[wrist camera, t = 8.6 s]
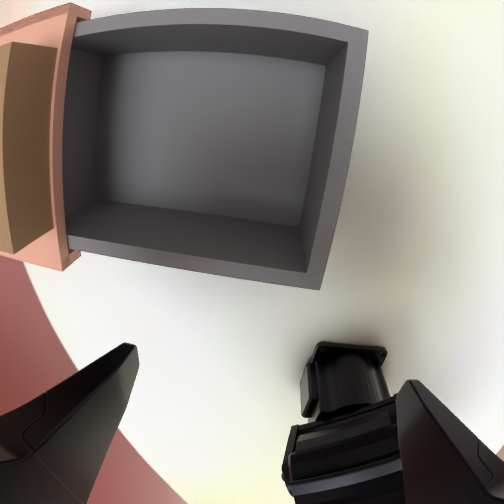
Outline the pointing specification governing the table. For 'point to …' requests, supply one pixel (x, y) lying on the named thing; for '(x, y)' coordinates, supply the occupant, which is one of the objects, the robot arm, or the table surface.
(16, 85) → the lid
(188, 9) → the base
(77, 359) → the table surface
